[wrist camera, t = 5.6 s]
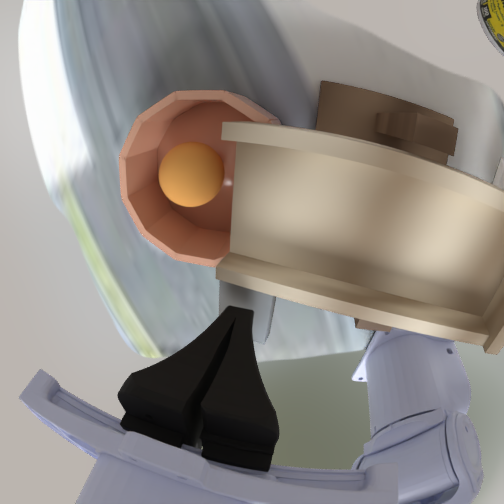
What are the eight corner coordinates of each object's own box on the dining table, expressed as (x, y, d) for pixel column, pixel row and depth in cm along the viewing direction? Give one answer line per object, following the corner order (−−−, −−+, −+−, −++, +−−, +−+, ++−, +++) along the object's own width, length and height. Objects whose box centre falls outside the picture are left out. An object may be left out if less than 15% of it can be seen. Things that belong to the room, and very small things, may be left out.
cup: (302, 102, 15) (301, 96, 11) (283, 244, 20) (276, 278, 16) (157, 96, 16) (119, 96, 12) (157, 224, 21) (127, 250, 17)
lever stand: (447, 118, 13) (515, 129, 6) (402, 282, 19) (429, 351, 13) (321, 82, 14) (331, 57, 8) (293, 263, 20) (284, 336, 14)
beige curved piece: (511, 192, 9) (563, 228, 5) (439, 348, 15) (448, 410, 11) (255, 120, 14) (204, 121, 9) (240, 298, 19) (204, 350, 15)
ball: (229, 147, 13) (152, 147, 13) (225, 217, 15) (154, 217, 15) (224, 138, 17) (164, 138, 16) (221, 195, 19) (164, 195, 18)
